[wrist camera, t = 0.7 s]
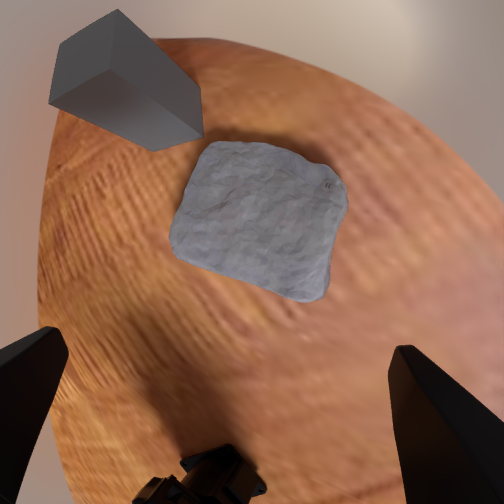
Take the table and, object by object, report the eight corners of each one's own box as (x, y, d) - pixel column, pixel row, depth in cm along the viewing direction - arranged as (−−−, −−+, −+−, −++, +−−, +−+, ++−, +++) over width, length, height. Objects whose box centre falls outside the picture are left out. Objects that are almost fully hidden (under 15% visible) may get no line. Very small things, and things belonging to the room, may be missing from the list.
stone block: (219, 153, 27) (178, 262, 26) (202, 124, 22) (151, 251, 21) (355, 187, 24) (320, 309, 23) (364, 160, 20) (323, 309, 19)
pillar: (204, 137, 25) (109, 68, 13) (153, 152, 27) (48, 103, 15) (200, 88, 26) (117, 8, 14) (152, 104, 27) (59, 43, 15)
